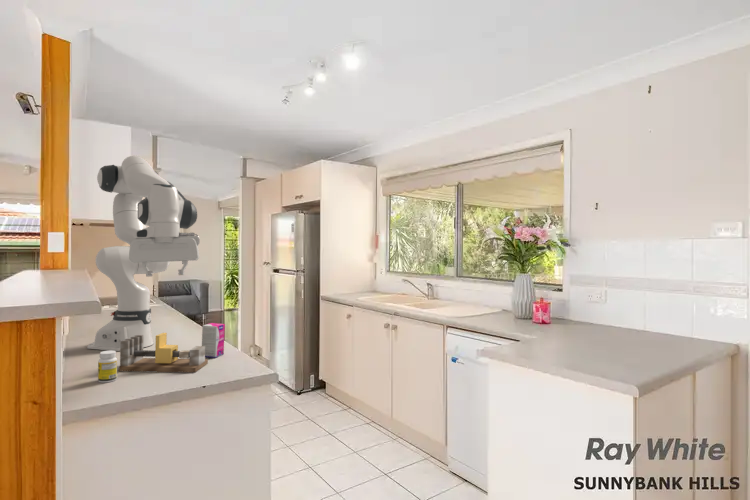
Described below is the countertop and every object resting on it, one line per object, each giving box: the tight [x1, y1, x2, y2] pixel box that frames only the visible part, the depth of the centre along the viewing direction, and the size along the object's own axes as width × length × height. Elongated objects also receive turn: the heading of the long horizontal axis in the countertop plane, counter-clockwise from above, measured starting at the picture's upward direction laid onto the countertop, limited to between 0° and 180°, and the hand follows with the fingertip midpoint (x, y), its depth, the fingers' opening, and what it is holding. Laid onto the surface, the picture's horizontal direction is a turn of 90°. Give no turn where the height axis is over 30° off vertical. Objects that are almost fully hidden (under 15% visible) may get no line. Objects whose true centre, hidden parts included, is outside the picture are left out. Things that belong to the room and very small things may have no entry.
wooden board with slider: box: [118, 335, 209, 373], centre depth 138 cm, size 24×10×9 cm, turn 91°
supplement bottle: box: [97, 350, 118, 384], centre depth 124 cm, size 5×5×8 cm
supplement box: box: [201, 322, 226, 359], centre depth 153 cm, size 6×6×12 cm
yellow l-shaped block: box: [154, 332, 179, 363], centre depth 138 cm, size 5×5×9 cm
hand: (165, 275), depth 135 cm, fingers open, 8 cm apart
